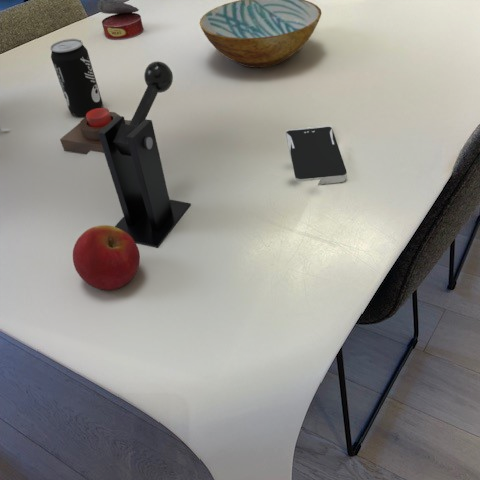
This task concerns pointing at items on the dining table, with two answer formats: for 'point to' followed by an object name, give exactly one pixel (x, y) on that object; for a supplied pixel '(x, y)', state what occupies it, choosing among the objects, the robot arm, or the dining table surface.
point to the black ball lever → (145, 102)
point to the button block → (84, 137)
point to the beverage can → (76, 76)
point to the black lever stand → (141, 184)
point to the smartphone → (316, 155)
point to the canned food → (120, 20)
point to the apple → (106, 257)
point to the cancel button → (98, 117)
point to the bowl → (260, 29)
